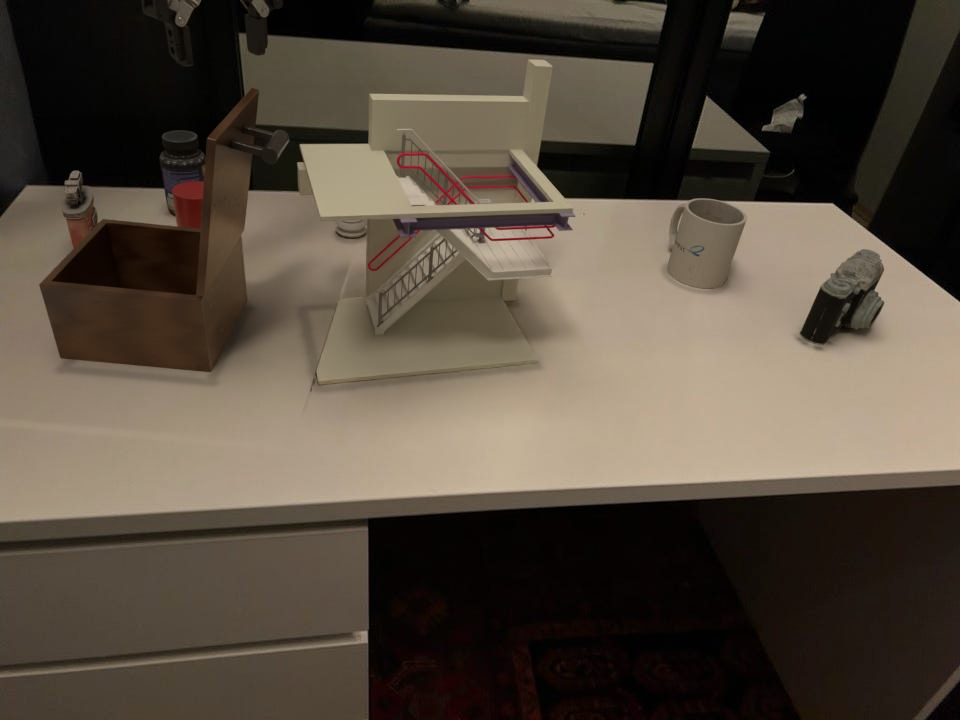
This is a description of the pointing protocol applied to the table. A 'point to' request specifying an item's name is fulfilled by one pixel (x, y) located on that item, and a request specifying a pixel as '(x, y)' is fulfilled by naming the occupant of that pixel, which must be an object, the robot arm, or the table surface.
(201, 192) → the can
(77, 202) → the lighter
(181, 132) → the pill bottle
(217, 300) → the chest
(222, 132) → the lid
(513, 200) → the staircase
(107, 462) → the table surface
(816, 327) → the camera
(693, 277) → the mug
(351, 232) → the rook chess piece
